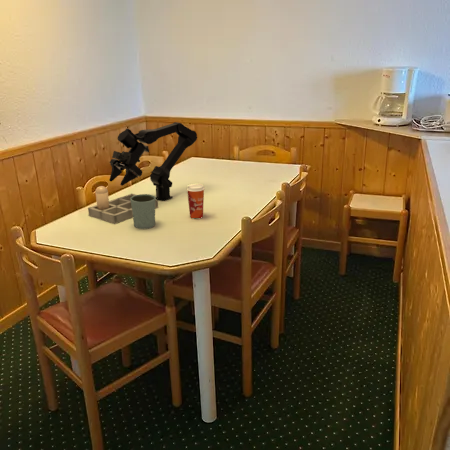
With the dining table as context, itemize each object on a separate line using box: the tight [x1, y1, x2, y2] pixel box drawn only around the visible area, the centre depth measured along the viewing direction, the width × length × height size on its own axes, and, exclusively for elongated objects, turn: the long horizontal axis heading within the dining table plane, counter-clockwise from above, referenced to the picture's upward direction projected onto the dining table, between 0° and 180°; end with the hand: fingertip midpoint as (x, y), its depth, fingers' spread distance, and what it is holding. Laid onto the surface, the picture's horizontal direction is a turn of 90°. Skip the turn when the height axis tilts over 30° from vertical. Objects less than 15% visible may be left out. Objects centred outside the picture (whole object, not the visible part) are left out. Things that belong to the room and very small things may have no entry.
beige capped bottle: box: [94, 185, 110, 211], centre depth 192 cm, size 5×5×12 cm
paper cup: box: [186, 183, 206, 219], centre depth 188 cm, size 8×8×14 cm
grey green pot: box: [130, 193, 157, 230], centre depth 180 cm, size 10×10×12 cm
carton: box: [87, 193, 159, 225], centre depth 197 cm, size 17×25×4 cm
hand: (115, 183), depth 194 cm, fingers open, 9 cm apart
